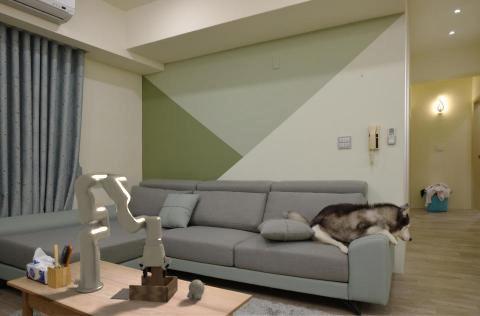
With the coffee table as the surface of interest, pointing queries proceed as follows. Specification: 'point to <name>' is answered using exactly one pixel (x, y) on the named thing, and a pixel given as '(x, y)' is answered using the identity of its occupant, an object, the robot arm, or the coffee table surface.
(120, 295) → the mat
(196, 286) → the toy rhinoceros
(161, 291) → the crate
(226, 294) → the coffee table surface
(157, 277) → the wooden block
